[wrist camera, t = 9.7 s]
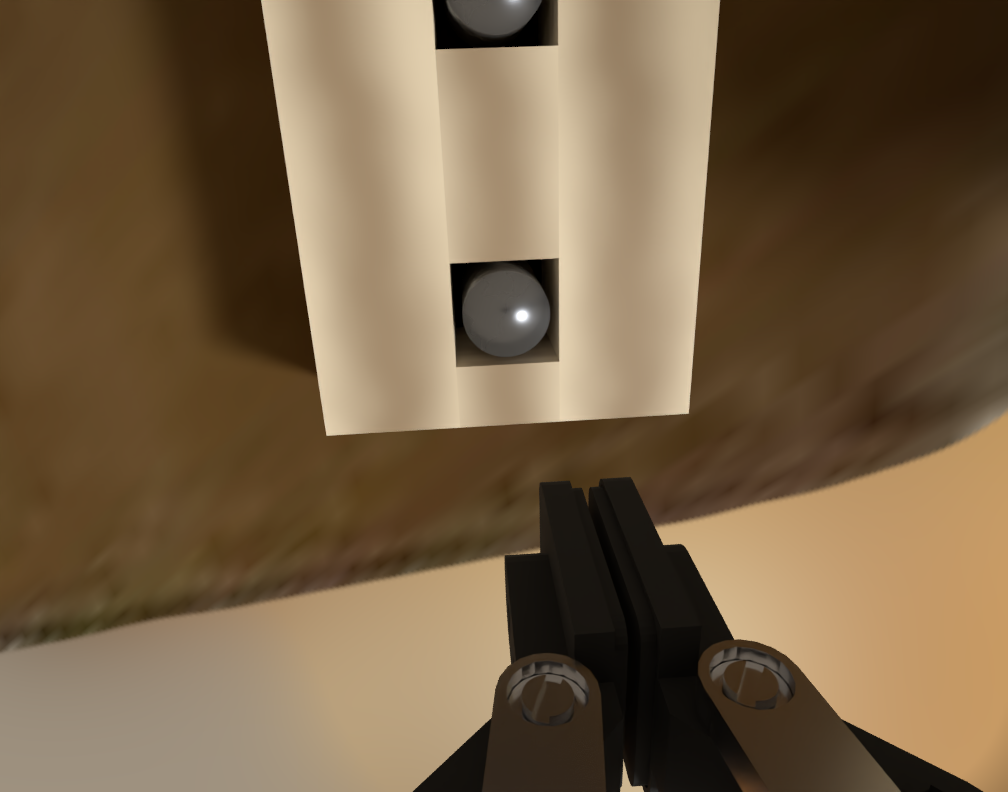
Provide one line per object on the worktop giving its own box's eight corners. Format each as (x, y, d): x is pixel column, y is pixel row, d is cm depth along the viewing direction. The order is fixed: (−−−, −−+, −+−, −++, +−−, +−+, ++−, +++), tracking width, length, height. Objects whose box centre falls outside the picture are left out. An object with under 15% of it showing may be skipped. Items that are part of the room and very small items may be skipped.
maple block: (678, -144, 27) (735, -212, 22) (651, 368, 36) (688, 413, 30) (277, -136, 26) (230, -205, 21) (346, 385, 35) (326, 435, 29)
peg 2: (534, 246, 32) (549, 269, 27) (535, 319, 33) (550, 354, 28) (458, 249, 32) (460, 273, 27) (463, 322, 33) (465, 359, 28)
